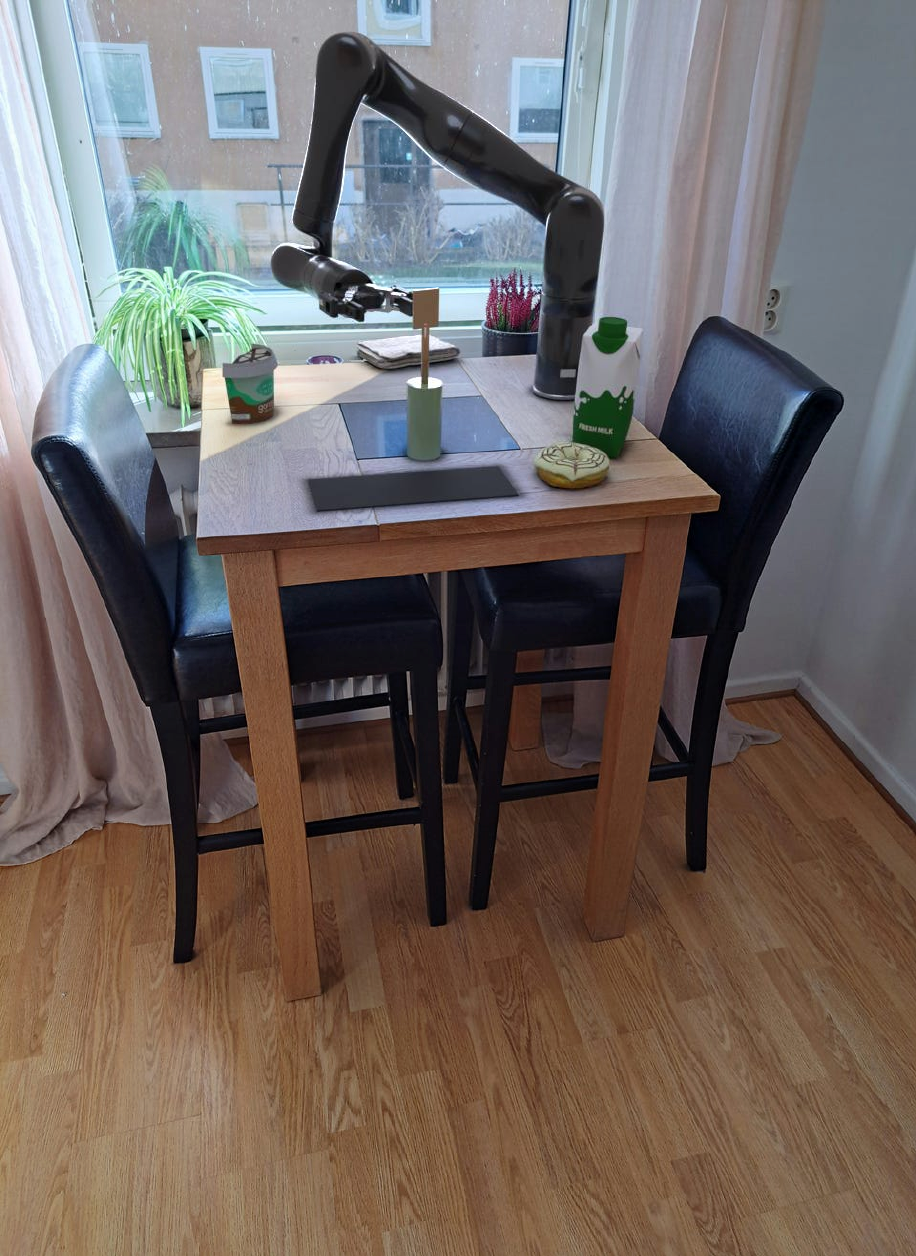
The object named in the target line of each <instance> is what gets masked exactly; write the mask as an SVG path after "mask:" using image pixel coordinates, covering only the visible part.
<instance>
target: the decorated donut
mask: <svg viewBox="0 0 916 1256" xmlns="http://www.w3.org/2000/svg"><path fill="white" fill-rule="evenodd" d="M610 465H611V461H610V458H608V456H607V455H606V454H605V453H603V452H602V451H600V450H599V449H597V448H593V447H590V446H588V445H584V444H579V443H573V441H572V442H571V441H566V442H558V443H557V442H556V443H553V444H550V445H548V446H546V447H543V448H542V449H541V450H540V451H539V453H538V454H537V455H536V456H535V458H534V461H533V467H534V469H535V470H536V471H537V474H538V475H539V477H540V478H541V480H542V481H544V482H545V483H547V484H548V485H550V486H552V487H553V488H554V487H555V488H556V487H557V488H563V489H583V488H588V487H592V486H593V485H596V484H599V483H601V482H602V481H603V480H604V479H605V478H606V476H607V474H608V473H609V471H610Z"/></svg>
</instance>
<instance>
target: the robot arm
mask: <svg viewBox="0 0 916 1256" xmlns="http://www.w3.org/2000/svg"><path fill="white" fill-rule="evenodd" d="M361 105H363V106H365V107H367V108H369V109H371V110H373V111H374V112H376V113H378V114H379V115H381V116H383V117H385V118H387V119H388V120H389V121H391V122H393V123H394V124H395V125H397V126H398V127H399V128H400V129H401V130H403V131H404V133H405V134H406V135H407V136H408V137H409V138H410V139H411V140H412V141H413V142H414V143H415V144H416V145H417V146H418V147H419V148H420V149H421V150H422V151H423V152H424V153H425V154H426V155H427V156H428V157H429V158H431V160H433V161H434V162H435V163H437V164H438V165H439V166H440V167H442V168H444V170H446V171H447V172H450V174H453V175H454V176H455V177H457V178H458V179H461V180H462V181H463V182H465V183H467V184H468V185H470V186H472V187H474V188H476V189H479V190H480V191H483V192H484V193H487V194H489V195H491V196H495V197H497V198H499V199H502V200H504V201H507V202H508V203H511V204H513V205H515V206H517V207H518V208H520V209H522V210H523V211H524V212H526V213H527V214H528V215H530V216H531V217H532V218H534V219H535V220H536V221H537V222H539V223H540V225H542V226H543V227H544V228H545V237H544V251H543V264H542V280H541V281H542V283H541V296H540V307H539V317H538V318H539V320H538V332H537V343H536V354H535V365H534V366H535V367H534V378H533V384H532V392H533V393H534V394H535V395H537V396H539V397H541V398H545V399H549V400H554V401H571V400H572V401H573V400H575V395H576V386H577V377H578V368H579V361H580V354H581V347H582V339H583V335H584V334H585V332H586V331H587V330H588V328H589V327H590V326H592V325H593V324H594V322H593V321H594V312H595V303H596V295H597V287H598V283H599V282H598V280H599V273H600V265H601V257H602V248H603V240H604V234H605V233H604V232H605V209H604V206H603V203H602V201H601V199H600V198H599V196H598V195H597V194H596V193H594V192H593V191H592V190H590V189H589V188H587V187H584V186H582V185H580V184H579V183H578V182H577V183H576V182H574V181H573V180H571V179H569V178H567V177H565V176H563V175H561V174H559V173H558V172H556V171H554V170H552V169H550V168H549V167H547V166H546V165H544V164H542V163H541V162H539V161H538V160H537V159H536V158H534V156H532V155H531V154H530V153H529V152H527V150H525V148H523V147H522V146H520V145H519V144H518V143H517V142H515V140H513V139H512V138H511V137H510V136H508V135H507V134H505V132H503V131H502V130H500V129H499V128H498V127H496V126H495V125H493V124H492V123H491V122H489V121H488V120H486V119H485V118H484V117H482V116H481V115H479V114H478V113H476V112H475V111H473V110H472V109H470V108H468V106H465V105H464V104H462V103H461V102H459V101H457V100H456V99H455V98H453V97H451V96H449V95H447V94H446V93H444V92H442V91H441V90H439V89H437V88H435V87H434V86H431V85H429V84H428V83H426V82H424V81H422V80H420V78H417V77H416V76H414V75H413V74H412V73H411V72H409V71H408V70H407V69H406V68H405V67H403V66H402V65H401V64H400V63H398V62H397V61H396V60H395V59H394V58H392V57H391V56H390V55H389V54H388V53H387V52H386V51H384V50H383V49H382V48H381V47H380V46H379V45H378V44H377V43H376V42H374V41H373V40H372V39H371V38H369V37H368V36H366V35H365V34H363V33H360V32H356V31H343V32H342V31H341V32H336V33H333V34H332V35H330V36H328V37H327V38H326V39H325V40H324V42H323V43H322V44H321V46H320V48H319V50H318V52H317V56H316V63H315V77H314V93H313V105H312V106H313V107H312V114H311V115H312V116H311V121H310V122H311V123H310V130H309V137H308V138H309V139H308V142H307V147H306V153H305V157H304V162H303V167H302V171H301V176H300V180H299V184H298V188H297V194H296V197H295V202H294V207H293V211H292V216H291V223H292V225H293V227H294V228H295V230H297V231H298V232H300V233H302V234H303V235H306V236H308V237H310V238H312V246H306V245H301V244H297V243H293V242H291V243H290V242H285V243H281V244H280V245H278V246H277V247H276V248H275V249H274V250H273V252H272V254H271V258H270V270H271V273H272V276H273V278H274V279H275V281H276V282H277V283H278V284H279V285H281V286H282V287H285V288H287V289H290V290H292V291H297V292H300V293H303V294H305V295H306V294H307V295H309V296H310V297H313V299H315V300H317V301H318V310H320V311H321V312H323V313H324V314H326V315H327V316H328V317H330V318H333V319H336V318H339V315H340V316H342V317H343V318H345V319H351V320H354V321H356V322H358V323H364V322H365V314H366V313H367V312H368V313H374V312H379V313H380V312H381V313H386V314H389V313H391V312H393V311H395V312H400V313H402V314H403V315H405V316H408V317H410V318H411V317H412V318H413V290H409V289H407V288H404V287H402V286H400V285H398V284H391V285H390V287H382V286H377V284H375V283H374V282H373V280H372V278H371V277H370V276H369V275H368V274H367V273H366V272H365V271H363V270H361V269H359V268H357V267H355V266H353V265H351V264H349V263H346V262H344V261H342V260H337V259H335V258H333V237H334V227H335V222H336V220H337V219H336V218H337V214H338V211H339V206H340V203H341V202H340V201H341V199H342V198H341V197H342V192H343V189H344V188H343V187H344V180H345V168H346V156H347V151H348V150H347V149H348V144H349V139H350V135H351V131H352V127H353V124H354V121H355V118H356V116H357V113H358V112H359V109H360V106H361ZM384 303H385V306H383V305H384Z"/></svg>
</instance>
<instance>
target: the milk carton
mask: <svg viewBox="0 0 916 1256" xmlns="http://www.w3.org/2000/svg"><path fill="white" fill-rule="evenodd" d="M643 336H644V328H639V327H632V326H628V320H626V319H625V318H622V317H619V316H618V317H617V316H604V317H600V318H599V319H598V322H593V323H592V326H590V327H589V328H588V330H587V331H586V332H585V334H584V335H583V339H582V347H581V354H580V361H579V368H578V377H577V386H576V395H575V399H574V406H573V416H572V443H579V444H584V445H588V446H590V447H593V448H597V449H599V450H600V451H602V452H603V453H605V454H606V455H607V456H608V458H609V459H615V460H616V459H617V458H618V457H619V454H620V453H621V451H622V449H623V447H624V445H625V443H626V440H627V436H628V433H629V430H630V427H631V423H632V420H633V416H634V415H633V414H634V409H635V402H636V395H637V391H638V390H637V389H638V383H639V375H640V370H641V368H640V367H641V359H642V357H643Z"/></svg>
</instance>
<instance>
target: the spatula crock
mask: <svg viewBox="0 0 916 1256" xmlns="http://www.w3.org/2000/svg"><path fill="white" fill-rule="evenodd" d="M412 292H413V316H412V330H414V331H415V330H421V335H422V340H421V364H420V376H419V377H418V376H417V377H413V378H410V379H408V380H407V381H406V456H407V457H408V458H410V459H412V460H416V461H420V462H421V461H423V462H425V461H428V462H429V461H433V460H437V459H439V458H440V457H441V455H442V428H443V427H442V426H443V423H442V422H443V391H444V390H443V387H444V383H443V381H441V380H440V379H438V378H434V377H430V363H429V335H430V328H432V329H433V328H439V323H440V322H439V319H440V317H439V316H440V287H431V288H423V289H422V288H421V289H412Z"/></svg>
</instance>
